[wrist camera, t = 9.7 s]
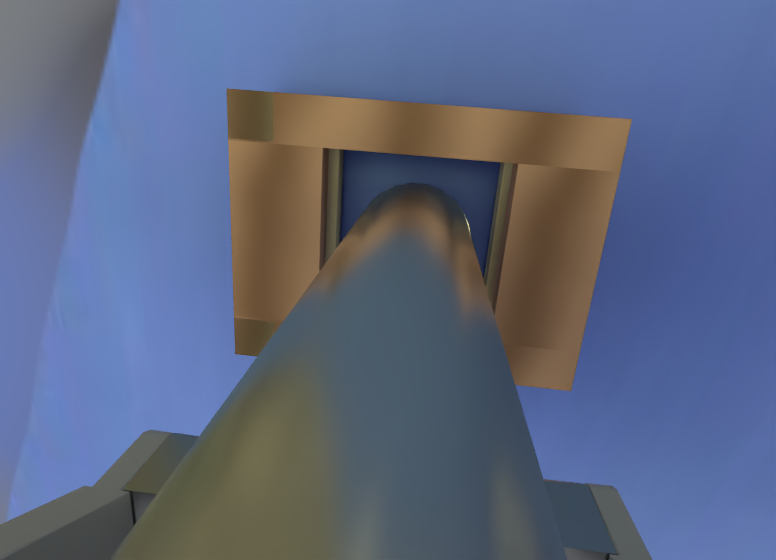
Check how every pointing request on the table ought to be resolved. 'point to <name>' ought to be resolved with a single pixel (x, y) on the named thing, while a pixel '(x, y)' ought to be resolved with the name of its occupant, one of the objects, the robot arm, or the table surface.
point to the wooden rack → (435, 139)
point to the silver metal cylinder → (368, 418)
